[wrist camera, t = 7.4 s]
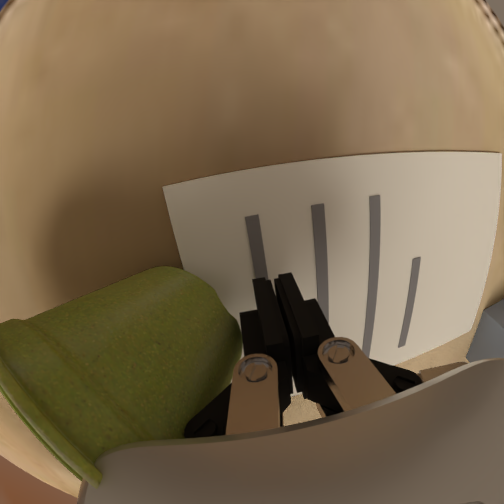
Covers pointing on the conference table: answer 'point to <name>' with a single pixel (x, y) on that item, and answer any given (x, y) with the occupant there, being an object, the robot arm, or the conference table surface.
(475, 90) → the conference table surface
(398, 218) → the letter
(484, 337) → the cube
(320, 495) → the robot arm
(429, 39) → the conference table surface
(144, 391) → the plant pot
